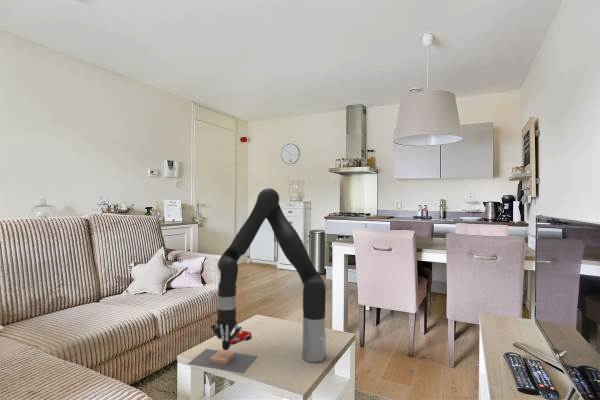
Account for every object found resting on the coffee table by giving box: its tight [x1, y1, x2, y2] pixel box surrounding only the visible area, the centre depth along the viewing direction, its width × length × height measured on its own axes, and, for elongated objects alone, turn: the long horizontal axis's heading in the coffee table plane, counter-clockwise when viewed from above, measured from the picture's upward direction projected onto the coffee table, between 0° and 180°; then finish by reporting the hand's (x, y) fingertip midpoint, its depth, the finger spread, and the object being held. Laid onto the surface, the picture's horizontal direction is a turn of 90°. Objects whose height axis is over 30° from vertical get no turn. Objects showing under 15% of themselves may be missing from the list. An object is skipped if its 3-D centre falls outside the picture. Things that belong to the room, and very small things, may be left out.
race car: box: [230, 330, 253, 346], centre depth 152 cm, size 13×5×4 cm, turn 137°
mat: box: [187, 348, 259, 374], centre depth 132 cm, size 24×14×1 cm, turn 75°
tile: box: [210, 349, 236, 366], centre depth 132 cm, size 2×8×7 cm
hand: (226, 349), depth 132 cm, fingers closed
